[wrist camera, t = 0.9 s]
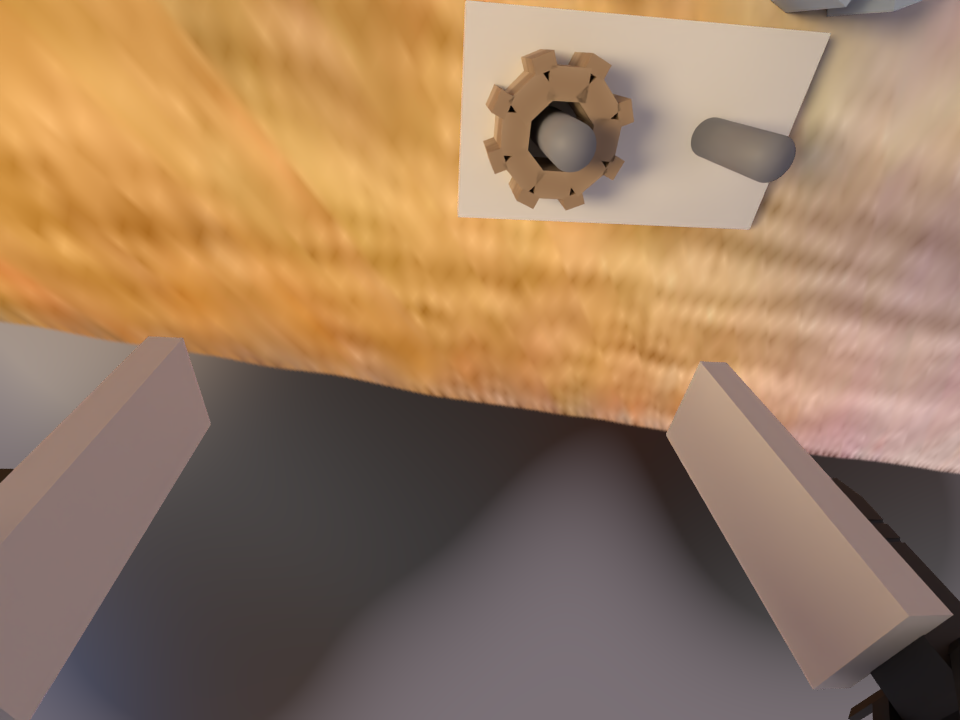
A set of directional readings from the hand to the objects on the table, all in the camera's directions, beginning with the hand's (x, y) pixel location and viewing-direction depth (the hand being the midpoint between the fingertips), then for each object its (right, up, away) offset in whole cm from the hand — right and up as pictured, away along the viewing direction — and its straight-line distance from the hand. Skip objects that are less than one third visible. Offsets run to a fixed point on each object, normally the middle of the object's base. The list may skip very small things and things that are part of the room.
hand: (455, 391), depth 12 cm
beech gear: (+5, +16, +17) cm, 24 cm away
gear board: (+10, +17, +19) cm, 27 cm away
